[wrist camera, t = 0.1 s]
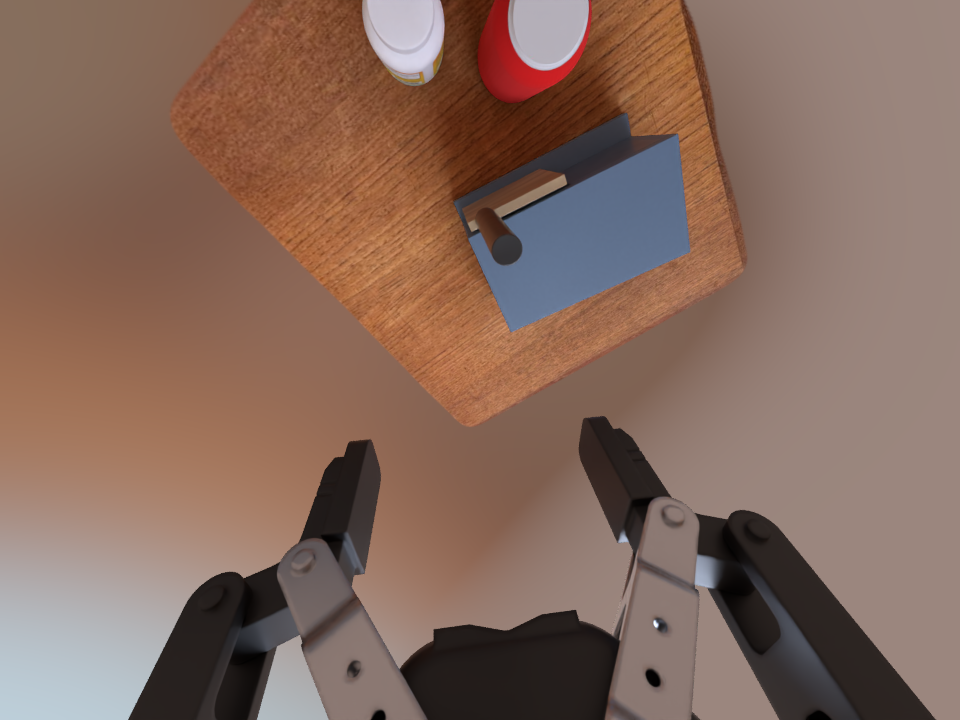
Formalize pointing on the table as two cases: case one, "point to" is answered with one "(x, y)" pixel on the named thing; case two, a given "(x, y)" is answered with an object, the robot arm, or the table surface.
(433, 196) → the table surface
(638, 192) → the cabinet
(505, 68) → the beverage can
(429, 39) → the supplement bottle
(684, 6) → the table surface
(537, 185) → the brown flat handled piece
